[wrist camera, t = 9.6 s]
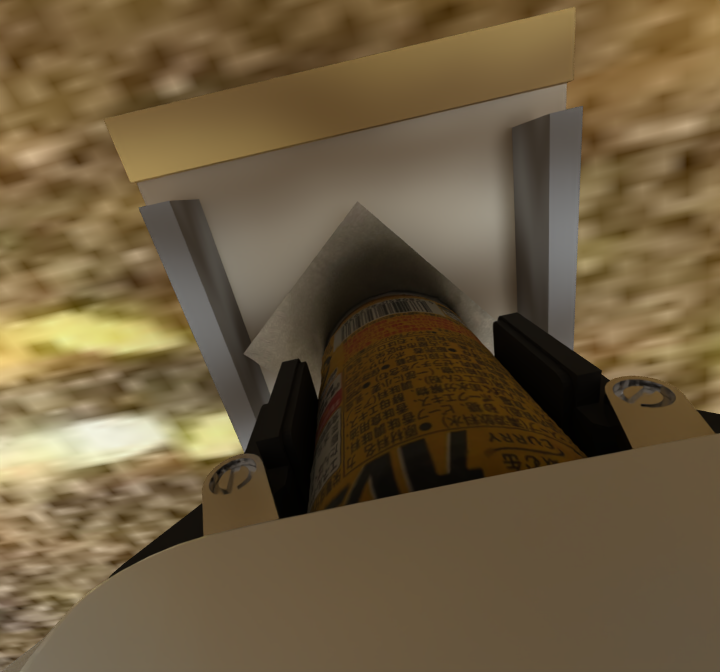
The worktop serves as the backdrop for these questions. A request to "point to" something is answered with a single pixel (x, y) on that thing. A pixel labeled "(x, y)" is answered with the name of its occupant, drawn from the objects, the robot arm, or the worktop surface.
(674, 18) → the worktop surface
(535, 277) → the dock
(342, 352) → the condiment
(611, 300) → the worktop surface
